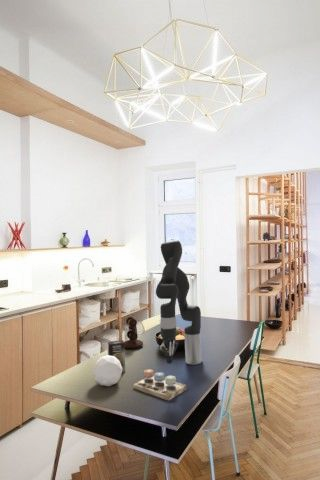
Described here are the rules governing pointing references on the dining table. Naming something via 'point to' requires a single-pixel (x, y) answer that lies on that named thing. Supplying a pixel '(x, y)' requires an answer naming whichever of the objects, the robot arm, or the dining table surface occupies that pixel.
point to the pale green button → (170, 380)
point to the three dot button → (159, 376)
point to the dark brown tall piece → (132, 335)
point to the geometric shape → (107, 370)
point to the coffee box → (117, 351)
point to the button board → (159, 388)
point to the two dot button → (148, 373)
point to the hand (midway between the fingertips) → (169, 362)
